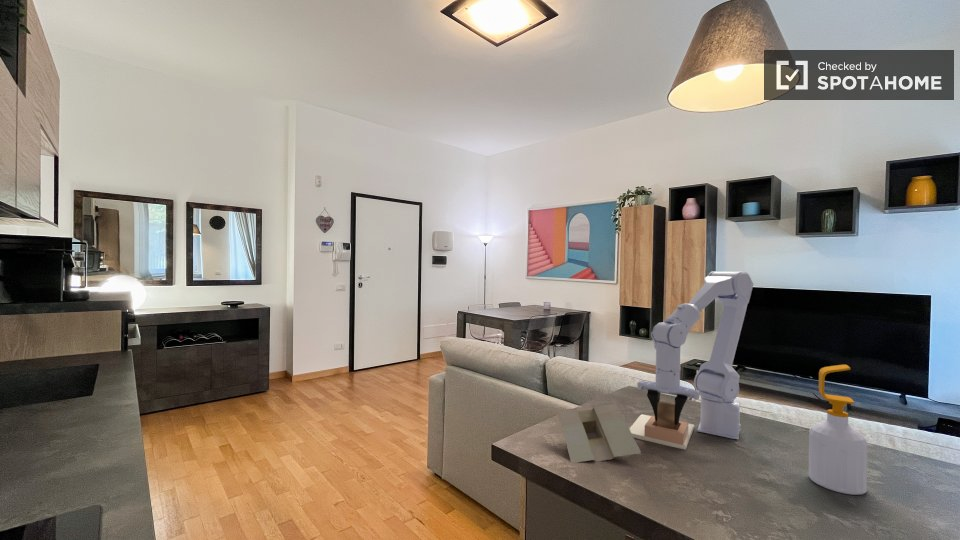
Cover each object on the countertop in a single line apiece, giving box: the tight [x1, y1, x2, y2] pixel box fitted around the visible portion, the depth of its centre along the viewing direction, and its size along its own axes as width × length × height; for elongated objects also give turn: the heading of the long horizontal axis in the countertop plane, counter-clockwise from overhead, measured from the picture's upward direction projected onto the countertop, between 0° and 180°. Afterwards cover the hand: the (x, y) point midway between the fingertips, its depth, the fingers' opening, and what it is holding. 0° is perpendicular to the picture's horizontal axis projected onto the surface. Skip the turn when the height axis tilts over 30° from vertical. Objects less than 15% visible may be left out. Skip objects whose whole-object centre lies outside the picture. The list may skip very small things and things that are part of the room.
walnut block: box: [657, 398, 677, 430], centre depth 106 cm, size 4×4×7 cm
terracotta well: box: [645, 415, 689, 445], centre depth 106 cm, size 9×9×3 cm
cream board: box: [629, 414, 695, 451], centre depth 110 cm, size 14×17×1 cm
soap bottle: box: [808, 364, 868, 496], centre depth 84 cm, size 9×9×25 cm
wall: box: [557, 403, 642, 463], centre depth 100 cm, size 16×9×15 cm
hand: (666, 421), depth 106 cm, fingers closed on walnut block, 4 cm apart
